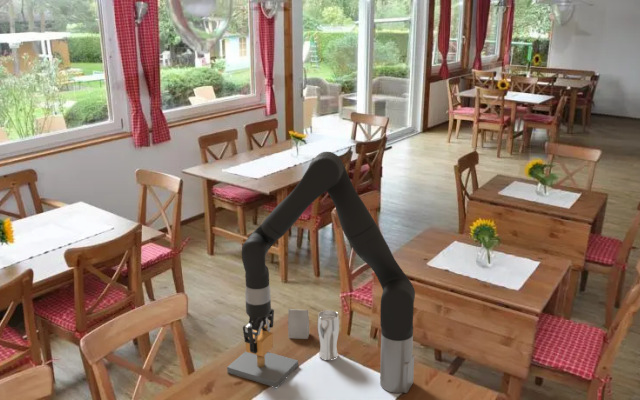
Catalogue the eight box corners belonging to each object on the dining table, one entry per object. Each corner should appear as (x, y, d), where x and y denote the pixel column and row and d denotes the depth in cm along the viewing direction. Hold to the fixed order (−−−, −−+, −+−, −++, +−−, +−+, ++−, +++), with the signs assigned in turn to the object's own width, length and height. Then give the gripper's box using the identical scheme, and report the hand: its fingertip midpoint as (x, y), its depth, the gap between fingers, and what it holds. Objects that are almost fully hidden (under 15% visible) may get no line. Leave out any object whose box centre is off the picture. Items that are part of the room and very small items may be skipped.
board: (298, 366, 187) (297, 350, 186) (276, 387, 176) (276, 371, 175) (250, 352, 195) (249, 337, 194) (227, 372, 184) (226, 357, 182)
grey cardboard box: (307, 339, 203) (307, 312, 200) (288, 338, 204) (287, 312, 201) (309, 333, 207) (308, 307, 204) (290, 332, 207) (289, 306, 204)
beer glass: (339, 350, 196) (339, 309, 191) (338, 362, 189) (338, 320, 185) (318, 349, 196) (318, 309, 192) (316, 361, 190) (316, 319, 185)
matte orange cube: (273, 347, 184) (272, 332, 182) (262, 356, 179) (262, 342, 177) (257, 342, 186) (256, 328, 185) (246, 351, 181) (245, 337, 180)
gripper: (255, 310, 170) (257, 362, 175) (281, 291, 182) (282, 339, 187) (233, 305, 173) (236, 355, 178) (260, 286, 185) (262, 333, 190)
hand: (259, 347), depth 182 cm, fingers closed on matte orange cube, 6 cm apart
